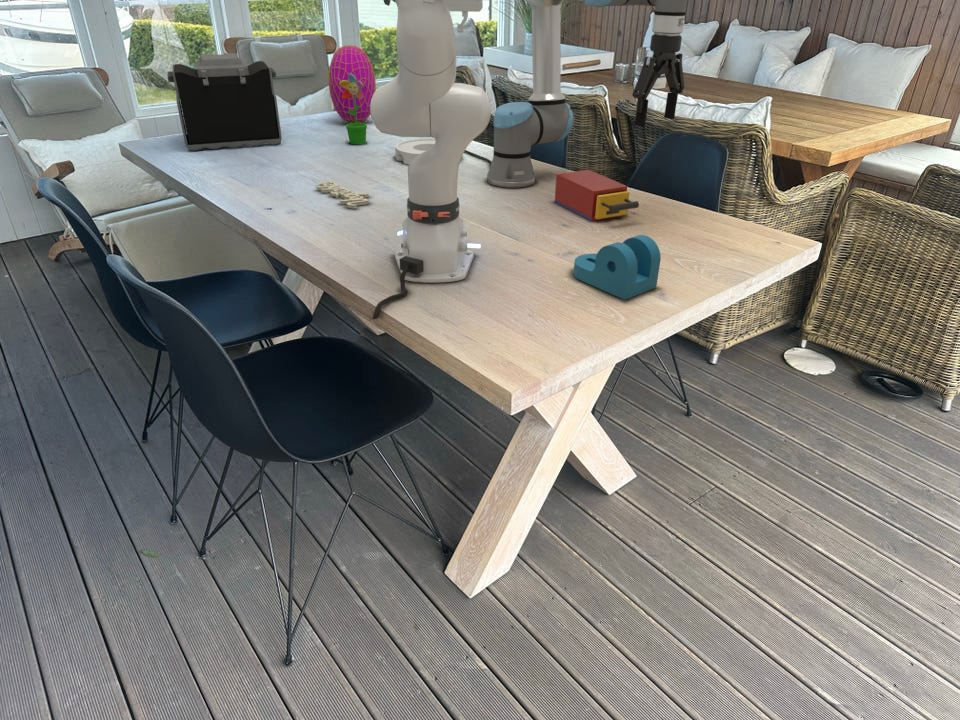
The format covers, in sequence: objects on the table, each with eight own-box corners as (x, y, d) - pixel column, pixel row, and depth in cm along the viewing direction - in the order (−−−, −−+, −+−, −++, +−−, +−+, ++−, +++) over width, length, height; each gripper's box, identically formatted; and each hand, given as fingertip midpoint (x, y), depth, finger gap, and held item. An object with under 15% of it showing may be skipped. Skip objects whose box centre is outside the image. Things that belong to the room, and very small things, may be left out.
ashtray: (454, 167, 232) (454, 155, 230) (388, 164, 235) (387, 152, 233) (466, 151, 252) (466, 140, 250) (404, 148, 255) (404, 137, 253)
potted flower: (342, 144, 260) (336, 73, 247) (351, 139, 266) (346, 70, 254) (365, 146, 257) (360, 74, 245) (374, 141, 264) (369, 71, 251)
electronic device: (279, 132, 275) (268, 51, 260) (286, 144, 258) (275, 58, 243) (181, 139, 264) (164, 54, 249) (182, 152, 246) (163, 62, 231)
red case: (624, 215, 192) (627, 186, 188) (591, 221, 188) (594, 191, 183) (586, 197, 206) (588, 169, 202) (554, 202, 202) (556, 174, 197)
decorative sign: (381, 199, 198) (351, 206, 193) (382, 203, 199) (351, 209, 193) (339, 178, 216) (309, 184, 211) (339, 182, 216) (310, 187, 211)
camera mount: (656, 287, 150) (663, 241, 145) (624, 299, 144) (630, 252, 139) (595, 262, 162) (599, 219, 157) (563, 272, 156) (567, 228, 151)
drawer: (639, 220, 186) (642, 197, 183) (609, 225, 182) (611, 202, 179) (590, 197, 203) (592, 176, 200) (562, 201, 199) (564, 180, 196)
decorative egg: (362, 116, 305) (357, 42, 290) (386, 123, 292) (382, 46, 277) (324, 121, 294) (316, 45, 279) (347, 129, 281) (340, 49, 266)
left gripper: (394, -34, 157) (397, 33, 164) (483, -33, 158) (482, 33, 165) (396, -34, 162) (399, 30, 169) (482, -33, 163) (481, 31, 170)
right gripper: (651, 38, 162) (639, 130, 173) (706, 32, 177) (692, 117, 188) (625, 35, 167) (615, 125, 178) (681, 30, 182) (668, 113, 193)
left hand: (440, 32), depth 167 cm, fingers open, 8 cm apart
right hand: (654, 121), depth 183 cm, fingers open, 13 cm apart
